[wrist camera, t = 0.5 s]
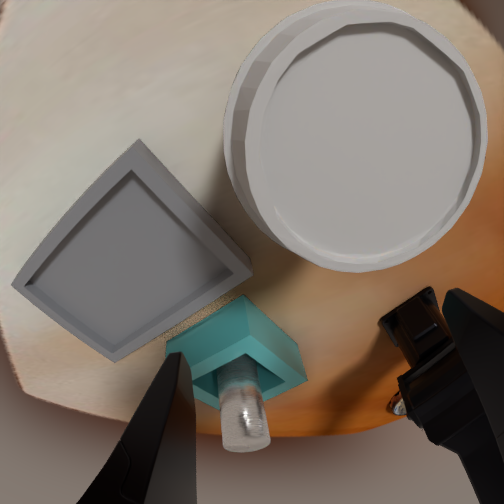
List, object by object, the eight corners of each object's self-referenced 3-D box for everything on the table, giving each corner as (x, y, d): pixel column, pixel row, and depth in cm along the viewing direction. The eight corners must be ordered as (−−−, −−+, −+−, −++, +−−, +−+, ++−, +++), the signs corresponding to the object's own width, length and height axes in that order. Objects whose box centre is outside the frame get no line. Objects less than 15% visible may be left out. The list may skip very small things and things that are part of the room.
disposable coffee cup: (383, 118, 19) (512, 187, 9) (276, 195, 22) (335, 323, 12) (307, 2, 15) (423, -47, 5) (182, 89, 17) (146, 126, 7)
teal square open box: (297, 344, 31) (307, 380, 27) (226, 380, 33) (230, 415, 29) (243, 294, 26) (250, 334, 23) (166, 341, 28) (164, 380, 25)
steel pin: (260, 348, 30) (279, 442, 21) (231, 364, 31) (242, 455, 22) (237, 330, 28) (252, 431, 20) (207, 347, 29) (213, 445, 20)
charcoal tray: (250, 258, 24) (253, 274, 23) (117, 346, 28) (114, 362, 27) (139, 138, 18) (132, 146, 17) (19, 270, 22) (10, 284, 20)
